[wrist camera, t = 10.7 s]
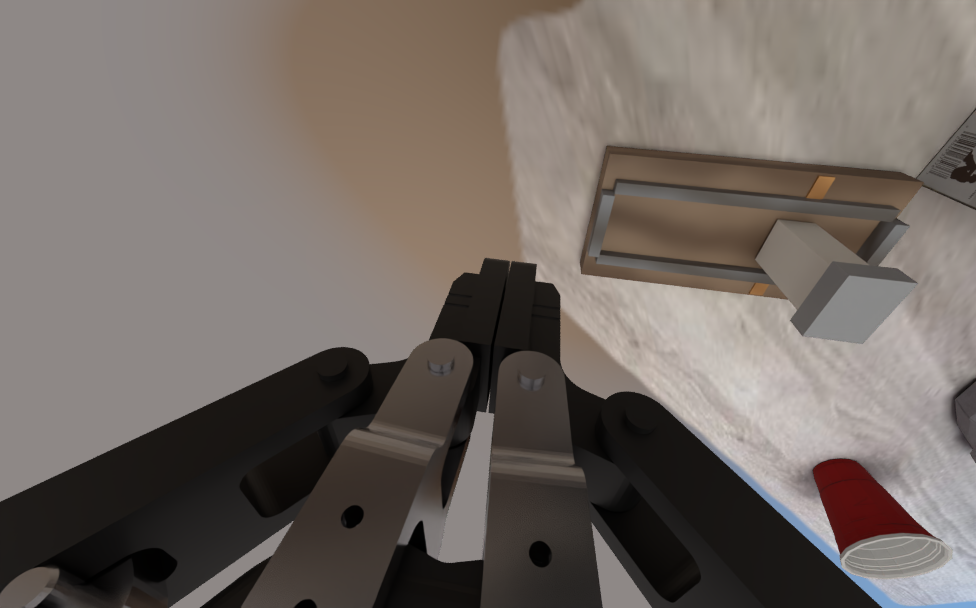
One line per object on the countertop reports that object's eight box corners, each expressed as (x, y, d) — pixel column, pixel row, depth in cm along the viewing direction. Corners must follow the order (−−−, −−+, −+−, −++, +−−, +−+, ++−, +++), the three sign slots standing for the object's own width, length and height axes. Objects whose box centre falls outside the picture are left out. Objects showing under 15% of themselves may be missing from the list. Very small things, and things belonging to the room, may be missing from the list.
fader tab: (775, 212, 31) (849, 275, 23) (825, 217, 31) (918, 283, 23) (746, 264, 34) (802, 336, 26) (791, 269, 34) (862, 344, 26)
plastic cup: (905, 466, 51) (983, 566, 42) (829, 495, 58) (881, 587, 48) (847, 437, 50) (915, 534, 40) (775, 470, 56) (819, 560, 47)
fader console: (607, 146, 33) (612, 158, 30) (900, 172, 30) (940, 189, 27) (580, 261, 40) (581, 281, 37) (815, 290, 38) (838, 314, 35)
